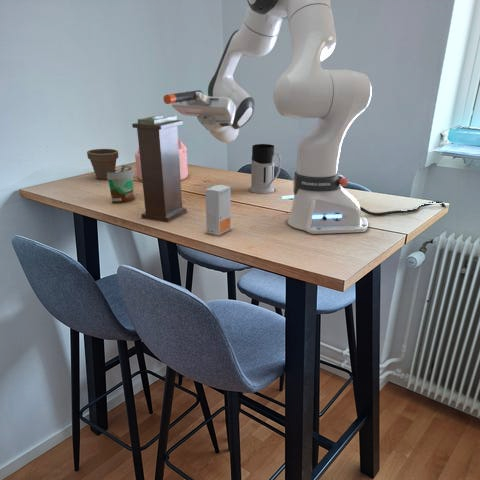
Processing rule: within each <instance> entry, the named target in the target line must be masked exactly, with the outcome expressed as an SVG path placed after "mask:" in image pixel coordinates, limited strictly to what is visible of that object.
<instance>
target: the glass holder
mask: <svg viewBox="0 0 480 480" xmlns="http://www.w3.org/2000/svg"><path fill="white" fill-rule="evenodd" d="M275 156H277V157H278V168H277V171H276V174H275ZM281 168H282V157H281V155H280V154H279V153H277V152H275V145H274V144H271V143H270V144H269V143H257V144H256V143H255V144H253V145H252V147H251V170H250V172H251V175H250V176H251V177H250V188H249V191H250V192H252V193H255V194H271V193H273V192H275V188H274V181H275V180H276V179H277V178H278V177H279V175H280V172H281Z"/></svg>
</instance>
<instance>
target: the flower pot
mask: <svg viewBox="0 0 480 480" xmlns="http://www.w3.org/2000/svg"><path fill="white" fill-rule="evenodd" d="M86 156H87V159H88V160H90V163H91V166H92V170H93V172H94V174H95V177H96V179H98V180H101V181H102V180H103V181H106V180H107V172H109V173H113V172H114V171H115V170H116V167H117V160H118V158H119V150H118V149H113V148H94V149H90V150H87V151H86Z"/></svg>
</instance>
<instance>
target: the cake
mask: <svg viewBox="0 0 480 480" xmlns="http://www.w3.org/2000/svg"><path fill="white" fill-rule="evenodd" d="M178 145H179V162H180V178H181V181H182V180H186V179H187V178H188V176H189V171H188V170H189V167H188V153H187V152H188V149H189V148H187V146H186V145H185V144H184V143H183V142H182V141H181V139H178ZM134 156H135V157H134V158H135V167H136V176H137V179H138V180H140V181H142V172H141V162H140V152H139V148H138V149H137V151H136V152H135V154H134Z"/></svg>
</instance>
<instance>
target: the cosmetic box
mask: <svg viewBox="0 0 480 480" xmlns="http://www.w3.org/2000/svg"><path fill="white" fill-rule="evenodd" d="M231 188H232V187H231V186H228V185H223V184H217V185H212V186H210V187H208V188H205V227H206V229H205V231H206V234H209V235H213V236H221V235H222V234H225V233H227V232H229V231H231V228H232V227H231V222H232V221H231V217H232V216H231V210H232V208H231V205H232V204H231V199H232V194H231V192H232V191H231Z"/></svg>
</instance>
